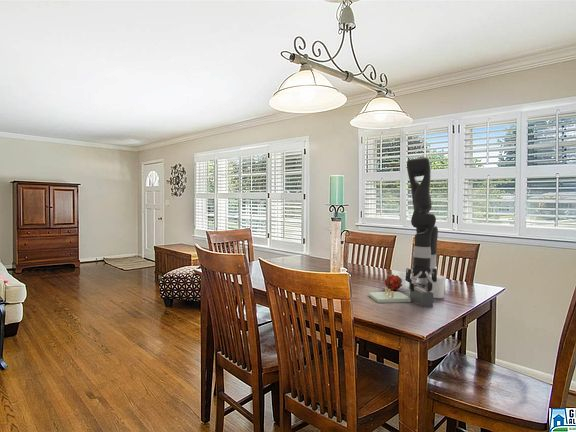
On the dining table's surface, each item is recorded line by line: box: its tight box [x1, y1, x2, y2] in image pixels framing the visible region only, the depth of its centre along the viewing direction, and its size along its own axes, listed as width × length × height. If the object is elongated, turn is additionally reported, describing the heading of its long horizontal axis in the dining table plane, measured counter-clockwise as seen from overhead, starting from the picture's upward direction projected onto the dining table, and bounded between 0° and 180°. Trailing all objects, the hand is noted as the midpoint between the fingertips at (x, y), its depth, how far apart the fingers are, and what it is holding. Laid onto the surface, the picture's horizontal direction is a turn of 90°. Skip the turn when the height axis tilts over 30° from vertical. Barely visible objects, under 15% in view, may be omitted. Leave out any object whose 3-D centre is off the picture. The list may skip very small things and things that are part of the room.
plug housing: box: [409, 286, 434, 308], centre depth 168 cm, size 5×12×6 cm, turn 9°
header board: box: [368, 286, 412, 304], centre depth 174 cm, size 16×12×4 cm
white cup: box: [430, 274, 447, 299], centre depth 178 cm, size 8×8×10 cm
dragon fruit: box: [384, 274, 403, 292], centre depth 190 cm, size 8×8×12 cm
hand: (420, 290), depth 167 cm, fingers open, 8 cm apart
